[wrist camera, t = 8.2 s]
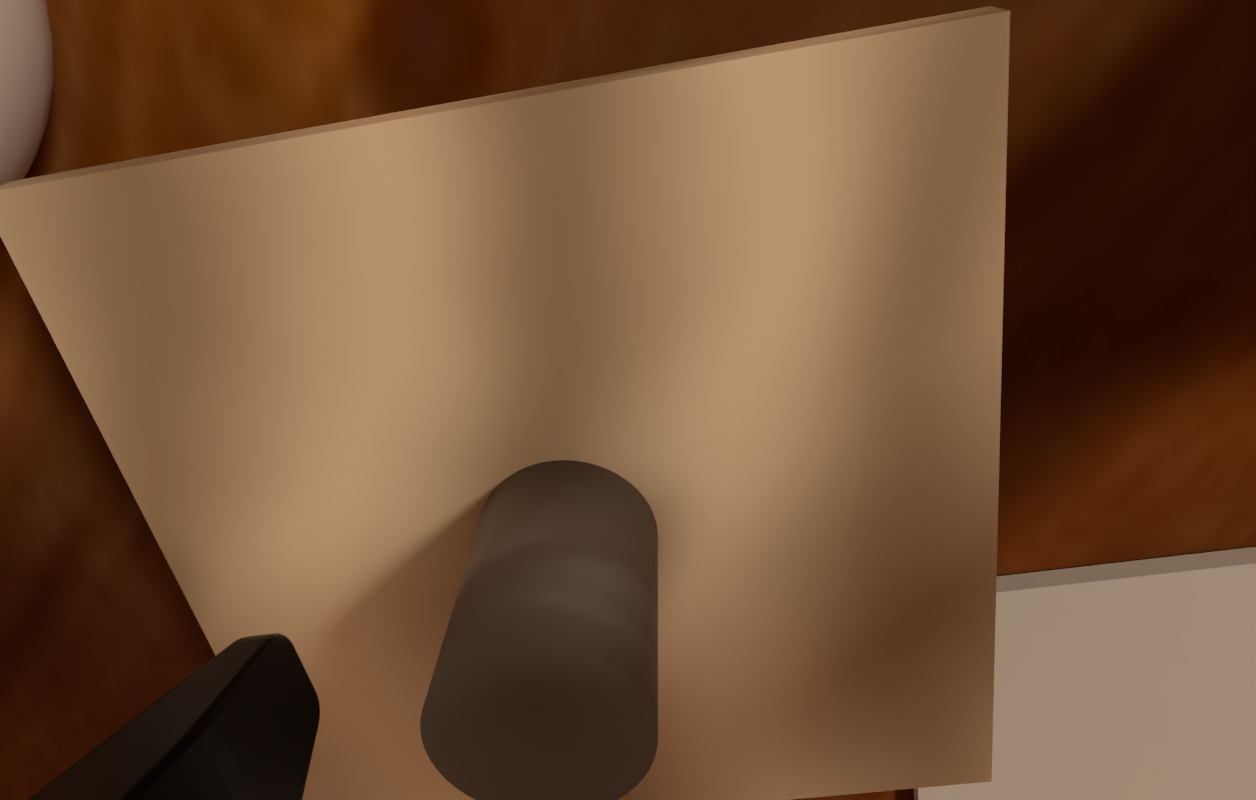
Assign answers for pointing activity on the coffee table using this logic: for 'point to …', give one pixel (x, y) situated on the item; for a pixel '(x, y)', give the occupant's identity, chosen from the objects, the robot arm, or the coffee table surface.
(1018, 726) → the mat
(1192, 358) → the coffee table surface
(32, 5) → the lidded jar
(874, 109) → the lid
